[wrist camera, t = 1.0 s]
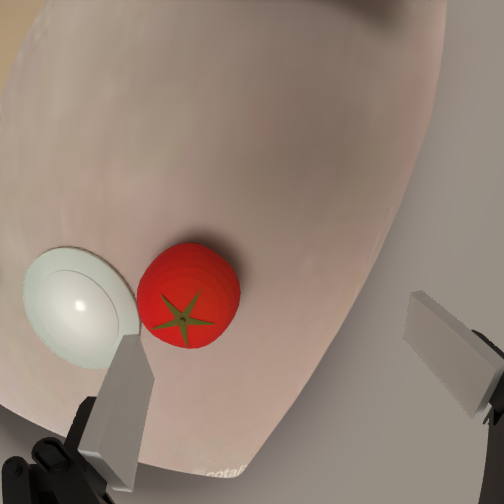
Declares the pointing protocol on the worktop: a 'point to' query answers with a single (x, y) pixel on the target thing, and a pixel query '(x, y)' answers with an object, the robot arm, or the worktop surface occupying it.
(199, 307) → the tomato
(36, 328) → the plate
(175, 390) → the worktop surface
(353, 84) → the worktop surface
